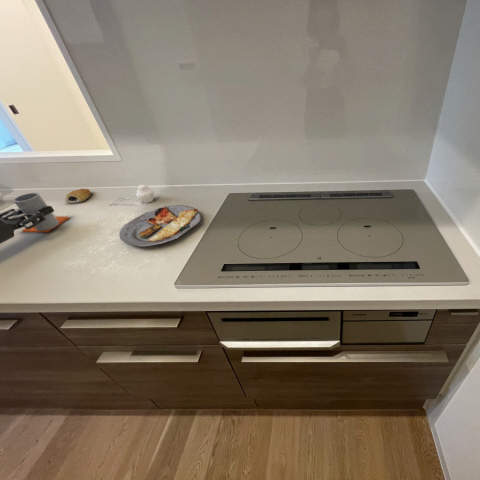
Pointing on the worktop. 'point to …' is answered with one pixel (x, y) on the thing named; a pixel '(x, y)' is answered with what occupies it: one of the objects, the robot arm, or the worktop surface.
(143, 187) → the white lumpy ball
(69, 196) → the pastry
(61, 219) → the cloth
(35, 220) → the robot arm
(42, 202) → the grey cylindrical cup
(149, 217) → the food plate
